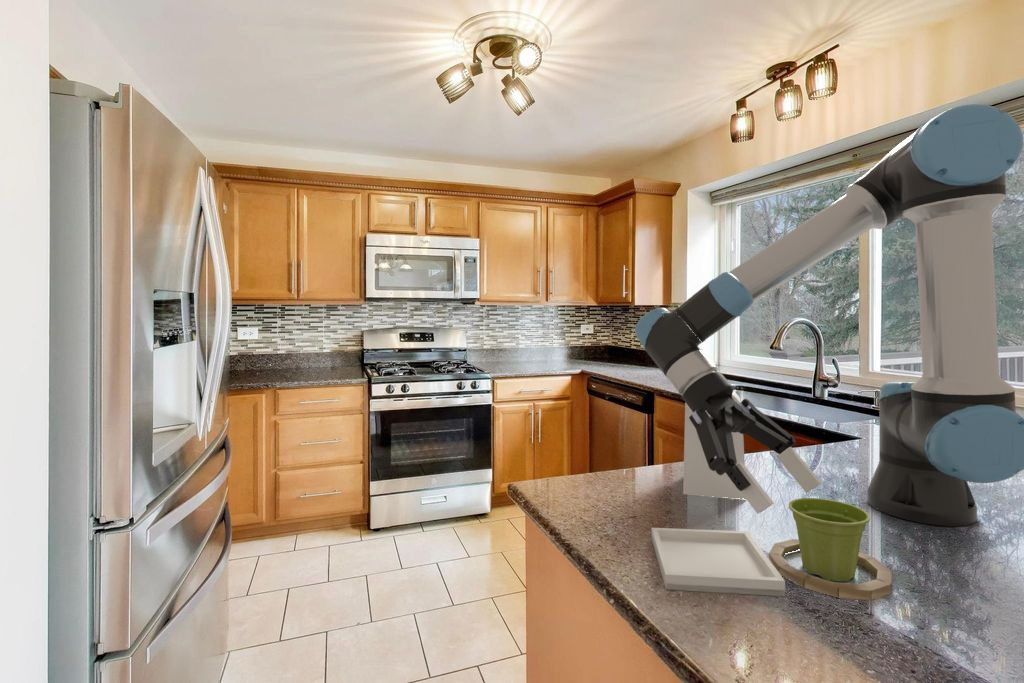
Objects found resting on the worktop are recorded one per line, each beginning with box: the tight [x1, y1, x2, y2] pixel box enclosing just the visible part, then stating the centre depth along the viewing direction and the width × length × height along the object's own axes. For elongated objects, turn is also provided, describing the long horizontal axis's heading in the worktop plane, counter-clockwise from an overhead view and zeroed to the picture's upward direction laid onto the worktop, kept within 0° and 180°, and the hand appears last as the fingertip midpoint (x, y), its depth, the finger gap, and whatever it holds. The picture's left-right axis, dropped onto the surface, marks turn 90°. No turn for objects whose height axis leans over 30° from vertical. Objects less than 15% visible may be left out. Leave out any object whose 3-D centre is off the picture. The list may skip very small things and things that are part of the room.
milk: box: [682, 361, 747, 500], centre depth 102 cm, size 12×12×26 cm
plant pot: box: [788, 497, 871, 582], centre depth 68 cm, size 9×9×9 cm
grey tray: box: [651, 527, 786, 597], centre depth 71 cm, size 15×15×2 cm
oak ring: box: [768, 538, 893, 601], centre depth 68 cm, size 14×14×1 cm
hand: (791, 498), depth 71 cm, fingers open, 13 cm apart
